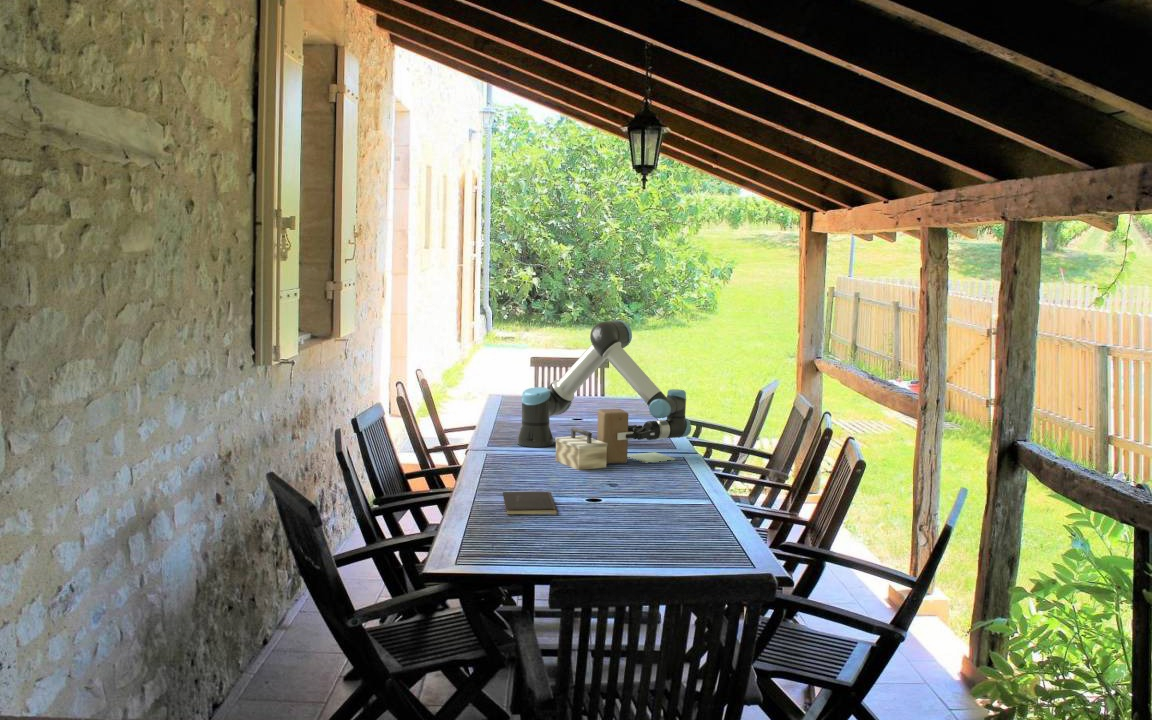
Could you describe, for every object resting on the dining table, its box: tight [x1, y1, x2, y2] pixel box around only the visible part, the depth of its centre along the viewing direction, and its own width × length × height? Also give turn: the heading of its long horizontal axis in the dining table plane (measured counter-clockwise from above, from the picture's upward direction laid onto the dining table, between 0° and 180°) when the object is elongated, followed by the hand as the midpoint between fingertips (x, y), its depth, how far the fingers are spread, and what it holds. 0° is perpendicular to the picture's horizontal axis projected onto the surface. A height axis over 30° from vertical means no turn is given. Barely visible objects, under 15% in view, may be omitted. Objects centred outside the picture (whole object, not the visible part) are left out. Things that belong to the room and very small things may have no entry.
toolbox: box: [554, 426, 608, 471], centre depth 386 cm, size 18×13×13 cm
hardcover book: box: [502, 491, 559, 515], centre depth 322 cm, size 16×23×2 cm
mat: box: [627, 451, 676, 464], centre depth 400 cm, size 14×14×1 cm
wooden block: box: [596, 408, 629, 465], centre depth 392 cm, size 10×10×20 cm
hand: (609, 433), depth 391 cm, fingers closed on wooden block, 12 cm apart
